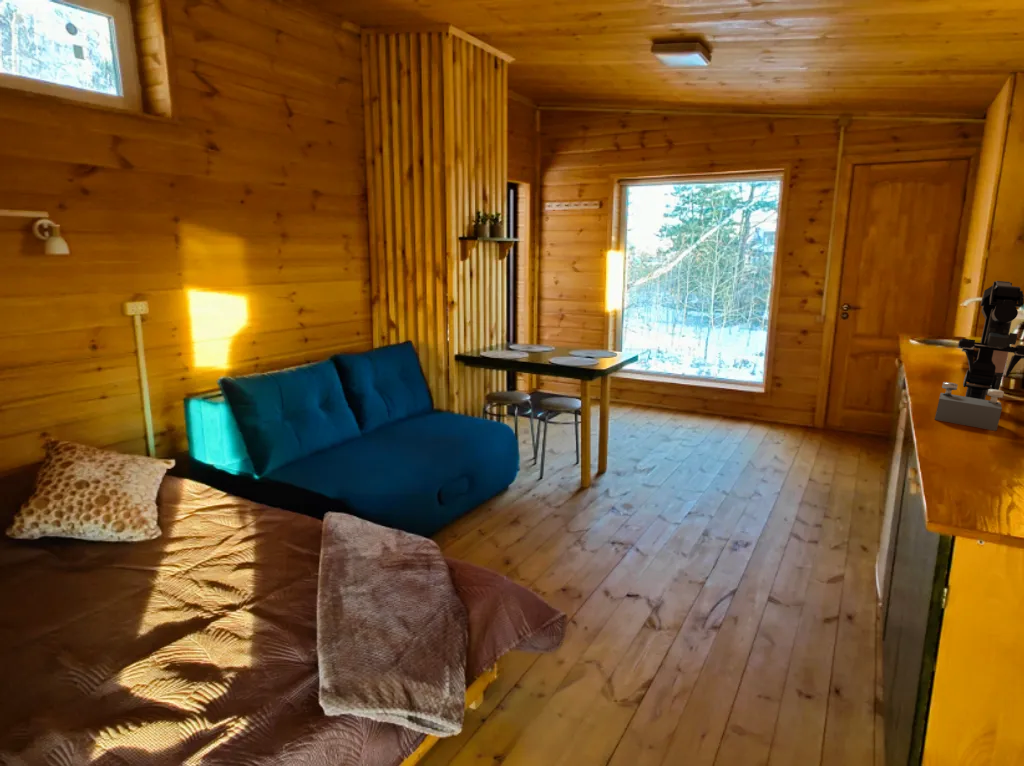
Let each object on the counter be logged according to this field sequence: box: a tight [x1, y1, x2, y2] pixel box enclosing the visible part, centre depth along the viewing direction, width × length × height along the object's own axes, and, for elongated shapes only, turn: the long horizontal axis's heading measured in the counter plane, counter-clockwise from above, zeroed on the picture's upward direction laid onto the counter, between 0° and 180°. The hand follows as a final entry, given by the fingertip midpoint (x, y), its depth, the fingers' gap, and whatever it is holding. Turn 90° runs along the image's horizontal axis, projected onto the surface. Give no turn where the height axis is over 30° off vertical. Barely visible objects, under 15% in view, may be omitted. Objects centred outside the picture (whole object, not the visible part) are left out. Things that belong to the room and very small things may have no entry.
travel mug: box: [983, 344, 1011, 395], centre depth 244 cm, size 8×8×20 cm
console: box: [934, 392, 1003, 432], centre depth 203 cm, size 10×16×7 cm, turn 55°
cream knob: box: [986, 389, 1005, 404], centre depth 201 cm, size 4×4×4 cm
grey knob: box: [941, 381, 959, 396], centre depth 207 cm, size 4×4×4 cm
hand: (988, 374), depth 202 cm, fingers open, 9 cm apart
